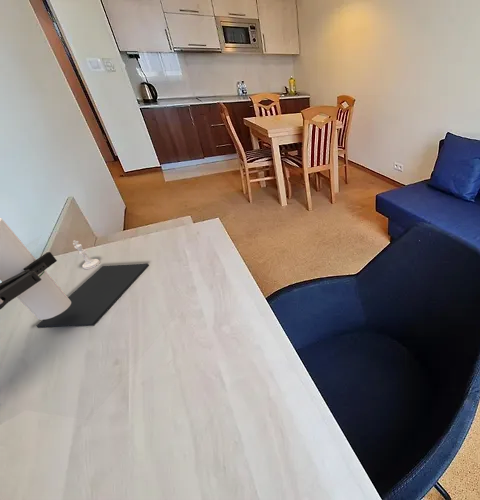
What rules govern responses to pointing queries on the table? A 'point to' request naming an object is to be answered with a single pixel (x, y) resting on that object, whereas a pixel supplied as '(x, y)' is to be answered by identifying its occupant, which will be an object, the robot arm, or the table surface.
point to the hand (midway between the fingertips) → (37, 257)
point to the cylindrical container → (39, 295)
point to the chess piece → (86, 257)
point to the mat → (96, 296)
